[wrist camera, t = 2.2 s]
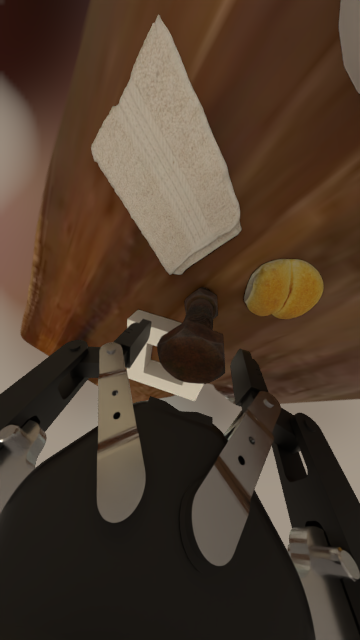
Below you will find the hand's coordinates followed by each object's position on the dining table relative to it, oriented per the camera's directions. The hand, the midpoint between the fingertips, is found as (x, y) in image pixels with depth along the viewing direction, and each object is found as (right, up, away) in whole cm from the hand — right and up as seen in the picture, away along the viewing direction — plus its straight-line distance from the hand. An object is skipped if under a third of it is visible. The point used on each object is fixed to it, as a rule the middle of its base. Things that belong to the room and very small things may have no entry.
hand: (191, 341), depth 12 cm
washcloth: (-2, +19, +6) cm, 20 cm away
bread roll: (+13, +7, +8) cm, 17 cm away
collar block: (-3, -5, +19) cm, 20 cm away
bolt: (+3, +6, +11) cm, 13 cm away
